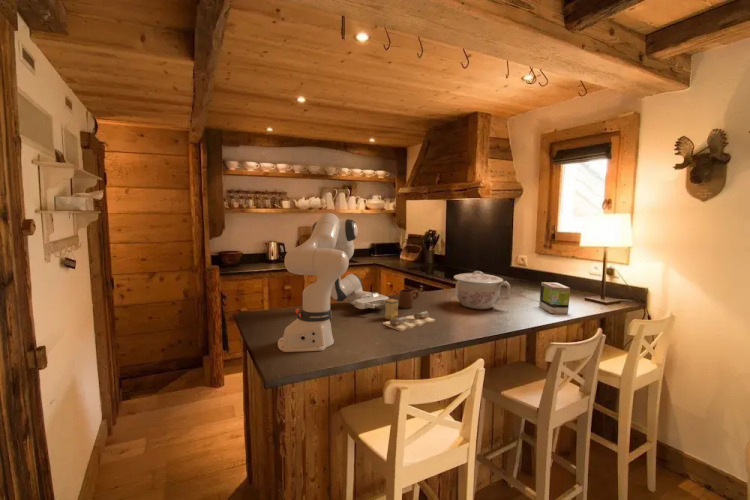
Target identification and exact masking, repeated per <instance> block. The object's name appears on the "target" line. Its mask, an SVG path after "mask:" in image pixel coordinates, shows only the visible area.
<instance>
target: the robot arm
mask: <svg viewBox="0 0 750 500" xmlns="http://www.w3.org/2000/svg"><path fill="white" fill-rule="evenodd" d="M358 233H359V228H358V225H357V222H356V221H355V220H354V219H349V218H348V219H339V217H338V216H337V215H336V214H334V213H331V212H326V213H323V214H322V215H321V216H320V217H319V219H318V220H317V221H316V222H314V223H313V225H312V227H311V235H310V237H309V238H308V239H307V240H306V241H305V242H303V243H302V244H300V245H298V246H296V247H293V248H290V249H289V250H288V251H287V252H286V254H285V255H284V260H283V261H284V267H285V269H286V270H287V272H289V273H291V274H295V275H298V276H299V275H300V276H302V275H303V276H315V277H317V278H316V281H315V282H313V283H311V284H309V285H307V286H306V287H304V289H303V291H302V308H301V309H300V308H296V309H295V314H296V315H297V318H296V319H295V320H294V321H292V322H291V323H290V324H288V325H287V326H286V327H285V329H284V331H283V332H284V333H283V337H280V338H279V339H278V341H277V348H278V349H279V350H280V351H281V352H284V353H292V352H293V353H295V352H317V351H318V352H319V351H324V350H325V349H326V348H328V347H330V346H332V345H333V344H334V342H335V339H334V337H333V332H332V324H331V323H332V319H333V318H332V315H333V314H332V308H331V298H332V300H334V301H336V302H343V301H345V302H347V303H349V304H351V305H353V306H354V308H357V309H359V310H364V309H369V308H370V309H375V308H377V307H379V306H385V301H386V300H388V299H390V297H389V296H387V295H384V294H379V292H376V291H373V292H371V291H364V290H363V289H364V288H363V287H364V285H363V280H362V278H361V277H360V276H358V275H357V274H355V273H351V272H350V273H349V274H348V275H345V276H344V277H343V278H341V276H343V275H344V274H345V273H346V272H347V271H348V268H349V266H350V264H349V263H350V262H349V261H350V260H351V258H352V257H353V255H354V252H355V244H354V241H355V239H357V237H358Z"/></svg>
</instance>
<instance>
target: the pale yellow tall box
mask: <svg viewBox="0 0 750 500" xmlns="http://www.w3.org/2000/svg"><path fill="white" fill-rule="evenodd" d="M384 308H385V310H384V315H385V316H384V317H385V318H384V319H386V320H388V321H390V320H393V319H397V318H399V299H394V298H389V299H388V300H386V301H385V305H384Z"/></svg>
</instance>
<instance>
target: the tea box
mask: <svg viewBox="0 0 750 500" xmlns="http://www.w3.org/2000/svg"><path fill="white" fill-rule="evenodd" d="M570 295H571V287H569V286H566V285H564V284H562V283H559V282H552V281H551V282H546V281H544V282H543V281H541V283H540V295H539V304H538V305H539V307H540V308H542V309H543V310H545V311H546V312H548V313H550V314H557V315H558V314H559V315H560V314H561V315H568V314H569V307H570V298H571V297H570Z"/></svg>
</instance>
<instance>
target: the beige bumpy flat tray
mask: <svg viewBox="0 0 750 500" xmlns="http://www.w3.org/2000/svg"><path fill="white" fill-rule="evenodd" d="M429 316H430V314H429V312H428V311H427V310H425V311H421V312H417V313H414V314H410V315H407V316H401V317H398V318H397V319H393V320H388V321H385V322H384V321H383V322H382V325H383V326H386V327H388V328H391V329H394V330H397V331H399V332H403V331H407V330H410V329H414V328H417V327H420V326H424V325H427V324H430V323H434V322H436V319H435V318H433V317H429Z"/></svg>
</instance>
